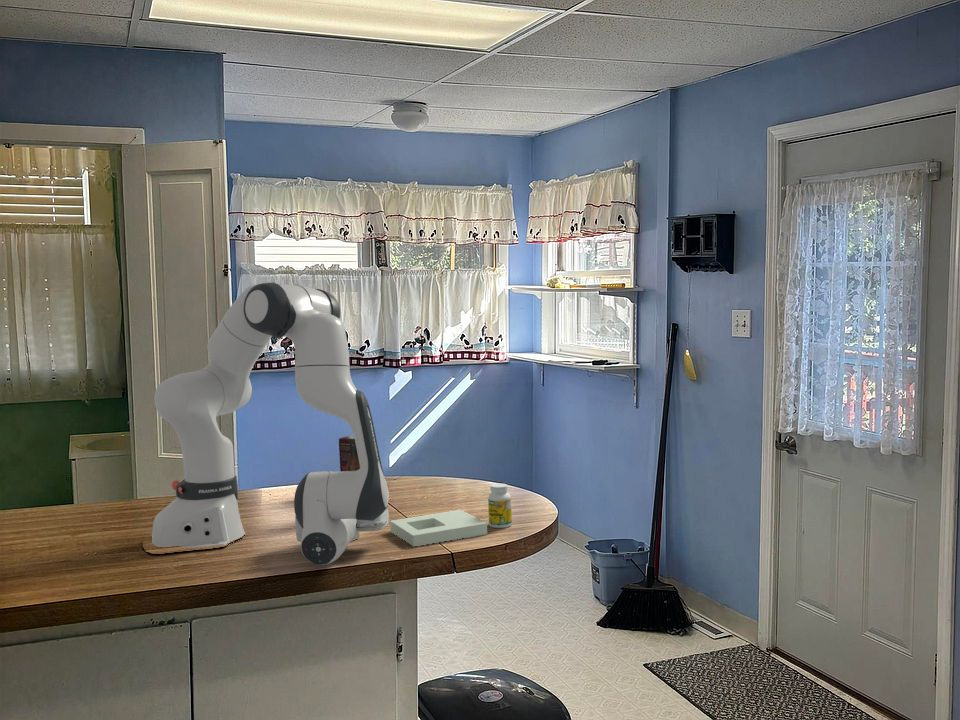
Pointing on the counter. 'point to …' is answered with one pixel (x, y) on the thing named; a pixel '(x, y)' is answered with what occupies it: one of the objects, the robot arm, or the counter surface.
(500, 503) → the supplement bottle
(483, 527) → the socket board
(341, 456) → the supplement box
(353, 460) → the sauce bottle
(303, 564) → the counter surface
